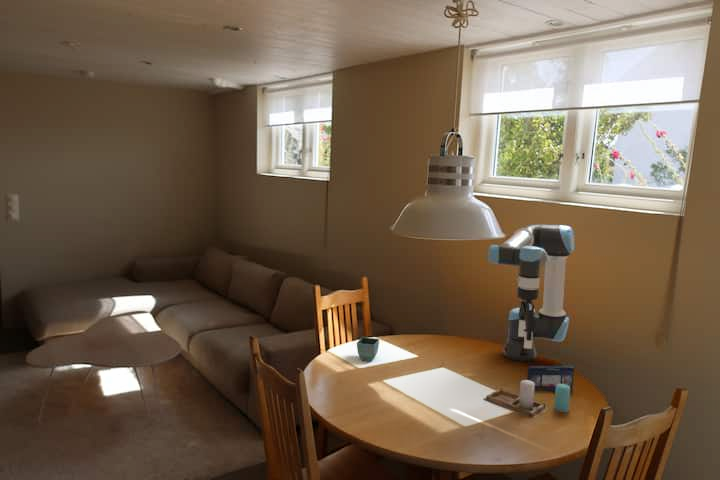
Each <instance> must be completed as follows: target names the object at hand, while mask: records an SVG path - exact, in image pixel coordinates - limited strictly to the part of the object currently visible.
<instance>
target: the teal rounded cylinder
mask: <svg viewBox="0 0 720 480" xmlns="http://www.w3.org/2000/svg"><path fill="white" fill-rule="evenodd" d="M554 392H555V393H554V405H553V406H554V407H553V408H554V410H555V411H557V412H560V413H568V412H569V408H570V397H571V391H570V386H568V385H566V384H556V391H554Z"/></svg>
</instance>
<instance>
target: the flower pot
mask: <svg viewBox="0 0 720 480" xmlns="http://www.w3.org/2000/svg"><path fill="white" fill-rule="evenodd" d="M379 343H380V339H379V338H373V337H364V336H363V337H360V339H358V340H357V342H356V349H357V354H358V357H359V359H360V360H362V361H365V360H366V362H367V361H368V362H373V360H374V359H375V357H376V356H377V353H378V352H379V346H380V345H379Z"/></svg>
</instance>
